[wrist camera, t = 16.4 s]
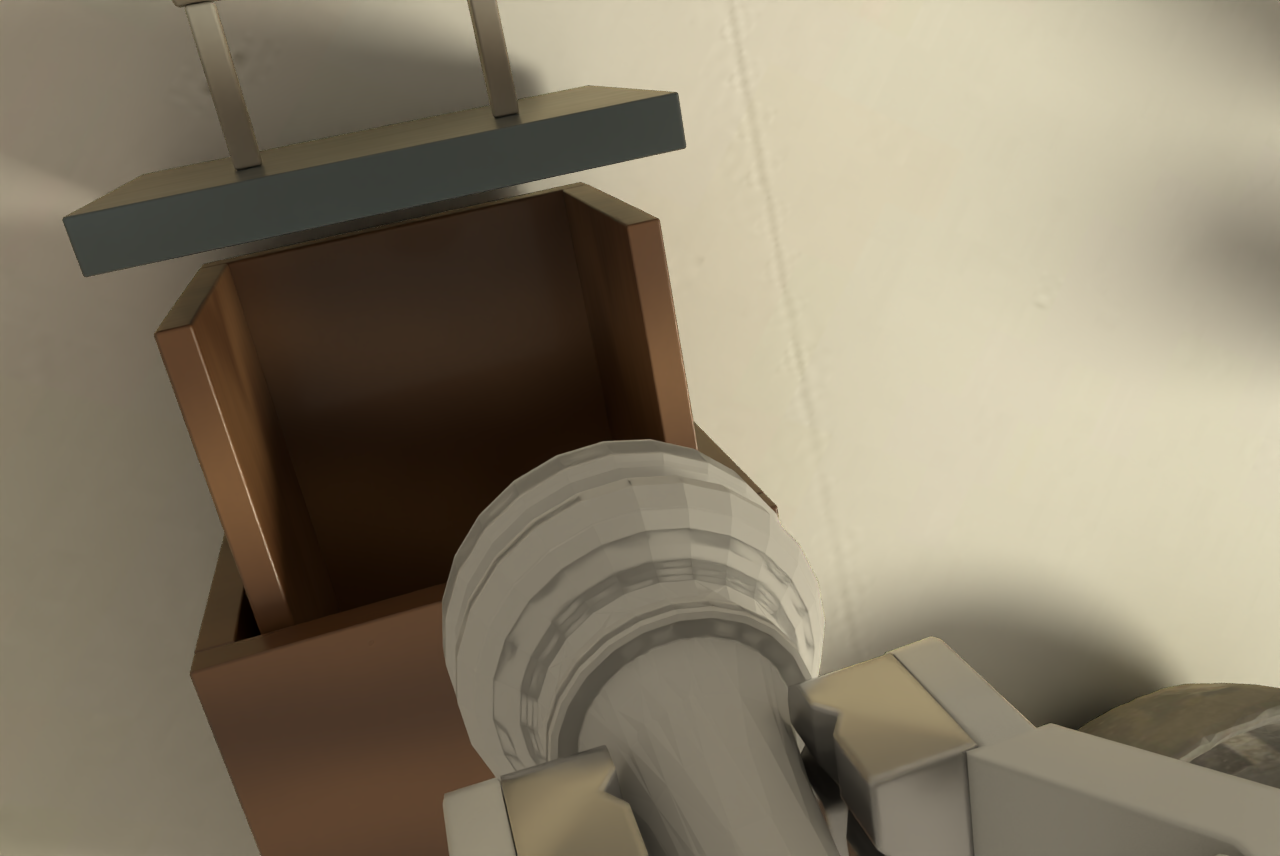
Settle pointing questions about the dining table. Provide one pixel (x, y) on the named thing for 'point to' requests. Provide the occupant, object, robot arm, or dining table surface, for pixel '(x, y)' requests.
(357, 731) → the cabinet
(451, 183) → the drawer
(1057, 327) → the dining table surface
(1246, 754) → the bowl
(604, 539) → the chess piece
